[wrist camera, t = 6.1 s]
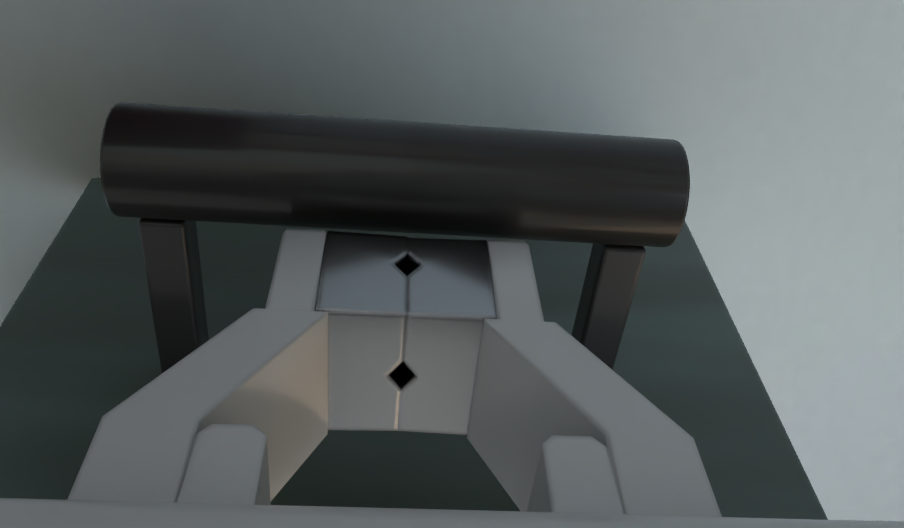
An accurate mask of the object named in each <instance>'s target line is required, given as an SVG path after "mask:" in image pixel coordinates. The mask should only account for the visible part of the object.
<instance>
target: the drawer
mask: <svg viewBox="0 0 904 528" xmlns="http://www.w3.org/2000/svg"><path fill="white" fill-rule="evenodd" d="M100 175H101V178H92V179H91V181H90V182H89V184H88V186H87V187H86V189H85V190H84V192H83V194H82V195H81V197H80V198H79V200H78V202H77V203H76V205H75V206H74V208H73V210H72V211H71V213H70V215H69V216H68V218H67V219H66V221H65V223H64V224H63V226H62V227H61V229H60V231H59V232H58V234H57V236H56V237H55V239H54V240H53V242H52V244H51V245H50V247H49V248H48V250H47V252H46V253H45V255H44V257H43V258H42V260H41V261H40V263H39V265H38V266H37V268H36V269H35V271H34V273H33V274H32V276H31V277H30V279H29V281H28V282H27V284H26V286H25V287H24V289H23V290H22V292H21V294H20V295H19V297H18V298H17V300H16V302H15V303H14V305H13V307H12V308H11V310H10V311H9V313H8V315H7V316H6V318H5V319H4V321H3V323H2V324H1V326H0V498H23V499H60V500H67V499H68V497H69V494H70V492H71V490H72V487H73V485H74V482H75V480H76V478H77V475H78V473H79V471H80V468H81V466H82V463H83V461H84V459H85V456H86V454H87V452H88V449H89V447H90V444H91V442H92V440H93V437H94V435H95V433H96V430H97V428H98V425H99V423H100V421H101V418H102V416H103V415H105V414H106V413H108V412H109V411H110V410H112V409H113V408H115V407H116V406H117V405H119V404H120V403H122V402H123V401H124V400H126V399H127V398H129V397H130V396H131V395H133V394H134V393H136V392H137V391H138V390H140V389H141V388H143V387H144V386H145V385H147V384H148V383H150V382H151V381H152V380H154V379H155V378H156V377H158V376H159V375H161V374H162V373H163V372H165V371H166V370H168V369H169V368H170V367H172V366H173V365H175V364H176V363H177V362H179V361H180V360H182V359H183V358H184V357H186V356H187V355H189V354H190V353H191V352H193V351H194V350H196V349H197V348H198V347H200V346H201V345H203V344H204V343H205V342H207V341H208V340H210V339H211V338H212V337H214V336H215V335H217V334H218V333H219V332H221V331H222V330H224V329H225V328H226V327H228V326H229V325H230V324H232V323H233V322H235V321H236V320H237V319H239V318H240V317H242V316H243V315H244V314H246V313H247V312H249V311H250V310H251V309H253V308H260V309H265V307H266V303H267V299H268V294H269V290H270V286H271V281H272V277H273V273H274V268H275V264H276V260H277V256H278V251H279V247H280V243H281V238H282V234H283V233H284V231H285V230H286V229H287V228H290V229H311V230H325V231H326V232H327V233H328V231H340V232H353V233H367V234H380V235H394V236H407V237H408V238H432V239H460V240H522V241H525V242H526V243H527V244H528V245H529V250H530V254H531V259H532V264H533V269H534V274H535V279H536V284H537V289H538V294H539V298H540V303H541V308H542V313H543V318H544V322H556V323H557V324H558V325H560V326H561V327H562V328H563V329H564V330H566V331H567V332H568V333H569V334H570V335H571V336H573V337H574V338H575V339H576V340H577V341H579V342H580V343H581V344H582V345H583V346H585V347H586V348H587V349H588V350H589V351H591V352H592V353H593V354H594V355H595V356H596V357H598V358H599V359H600V360H601V361H602V362H604V363H605V364H606V365H607V366H608V367H610V368H611V369H612V370H613V371H614V372H616V373H617V374H618V375H619V376H620V377H621V378H623V379H624V380H625V381H626V382H627V383H629V384H630V385H631V386H632V387H633V388H635V389H636V390H637V391H638V392H639V393H641V394H642V395H643V396H644V397H645V398H647V399H648V400H649V401H650V402H651V403H652V404H654V405H655V406H656V407H657V408H658V409H660V410H661V411H662V412H663V413H664V414H666V415H667V416H668V417H669V418H670V419H672V420H673V421H674V422H675V423H676V424H677V425H679V426H680V427H681V428H682V429H683V430H685V431H686V432H687V433H688V434H689V435H691V436H692V437H693V438H694V441H695V443H696V446H697V449H698V452H699V454H700V457H701V460H702V463H703V466H704V468H705V471H706V474H707V477H708V479H709V482H710V485H711V488H712V491H713V493H714V496H715V499H716V502H717V504H718V507H719V510H720V513H721V515H722V517H740V518H776V519H812V520H828V519H827V517H826V515H825V513H824V510H823V508H822V506H821V504H820V502H819V500H818V498H817V496H816V494H815V492H814V490H813V487H812V485H811V483H810V481H809V479H808V477H807V475H806V473H805V471H804V469H803V467H802V464H801V462H800V460H799V458H798V456H797V454H796V452H795V450H794V448H793V446H792V444H791V441H790V439H789V437H788V435H787V433H786V431H785V429H784V427H783V425H782V423H781V421H780V418H779V416H778V414H777V412H776V410H775V408H774V406H773V404H772V402H771V400H770V398H769V395H768V393H767V391H766V389H765V387H764V385H763V383H762V381H761V379H760V377H759V375H758V372H757V370H756V368H755V366H754V364H753V362H752V360H751V358H750V356H749V354H748V352H747V349H746V347H745V345H744V343H743V341H742V339H741V337H740V335H739V333H738V331H737V329H736V326H735V324H734V322H733V320H732V318H731V316H730V314H729V312H728V310H727V308H726V306H725V303H724V301H723V299H722V297H721V295H720V293H719V291H718V289H717V287H716V285H715V283H714V280H713V278H712V276H711V274H710V272H709V270H708V268H707V266H706V264H705V262H704V260H703V257H702V255H701V253H700V251H699V249H698V247H697V245H696V243H695V241H694V239H693V237H692V234H691V232H690V230H689V228H688V226H687V224H686V222H685V217H686V212H687V207H688V201H689V190H690V175H689V165H688V159H687V155H686V152H685V150H684V147H683V146H682V144H681V143H680V142H678V141H676V140H671V139H656V138H642V137H627V136H612V135H597V134H583V133H568V132H553V131H538V130H524V129H509V128H494V127H479V126H465V125H450V124H435V123H420V122H406V121H391V120H376V119H361V118H347V117H332V116H317V115H302V114H288V113H273V112H258V111H243V110H229V109H214V108H199V107H184V106H170V105H155V104H140V103H125V102H121V103H118V104H115V105H114V106H113V107H112V108H111V110H110V112H109V114H108V116H107V118H106V122H105V125H104V129H103V134H102V140H101V149H100ZM271 505H288V506H327V507H367V508H407V509H446V510H486V511H520V510H519V508H518V507H517V506H516V504H515V503H514V501H513V500H512V499H511V497H510V496H509V495H508V493H507V492H506V491H505V489H504V488H503V486H502V485H501V484H500V482H499V481H498V480H497V478H496V477H495V476H494V474H493V473H492V472H491V470H490V469H489V467H488V466H487V465H486V463H485V462H484V461H483V459H482V458H481V457H480V455H479V454H478V452H477V451H476V450H475V448H474V447H473V446H472V444H471V443H470V442H469V440H468V439H467V435H460V434H443V433H426V432H410V431H370V430H328V434H327V435H326V437H325V438H324V439H323V440H322V441H321V442H320V444H319V445H318V446H317V447H316V448H315V450H314V451H313V452H312V453H311V454H310V456H309V457H308V458H307V459H306V460H305V461H304V463H303V464H302V465H301V466H300V467H299V469H298V470H297V471H296V472H295V473H294V475H293V476H292V477H291V478H290V479H289V480H288V482H287V483H286V484H285V485H284V486H283V488H282V489H281V490H280V491H279V492H278V494H277V495H276V496H275V497H274V498H273V499H272V501H271Z"/></svg>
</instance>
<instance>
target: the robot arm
mask: <svg viewBox="0 0 904 528" xmlns="http://www.w3.org/2000/svg"><path fill="white" fill-rule="evenodd" d="M328 430H370V431H410V432H426V433H443V434H460V435H467V439H468V440H469V442H470V443H471V444H472V446H473V447H474V448H475V450H476V451H477V452H478V454H479V455H480V457H481V458H482V459H483V461H484V462H485V463H486V465H487V466H488V467H489V469H490V470H491V472H492V473H493V474H494V476H495V477H496V478H497V480H498V481H499V482H500V484H501V485H502V486H503V488H504V489H505V491H506V492H507V493H508V495H509V496H510V497H511V499H512V500H513V501H514V503H515V504H516V506H517V507H518V508H519V510H520V511H486V510H446V509H407V508H367V507H327V506H288V505H271V501H272V499H273V498H274V497H275V496H276V495H277V494H278V492H279V491H280V490H281V489H282V488H283V486H284V485H285V484H286V483H287V482H288V480H289V479H290V478H291V477H292V476H293V475H294V473H295V472H296V471H297V470H298V469H299V467H300V466H301V465H302V464H303V463H304V461H305V460H306V459H307V458H308V457H309V456H310V454H311V453H312V452H313V451H314V450H315V448H316V447H317V446H318V445H319V444H320V442H321V441H322V440H323V439H324V438H325V437H326V435H327V434H328ZM0 528H904V522H902V521H859V520H812V519H776V518H740V517H722V515H721V513H720V510H719V507H718V504H717V502H716V499H715V496H714V493H713V491H712V488H711V485H710V482H709V479H708V477H707V474H706V471H705V468H704V466H703V463H702V460H701V457H700V454H699V452H698V449H697V446H696V443H695V441H694V438H693V437H692V436H691V435H689V434H688V433H687V432H686V431H685V430H683V429H682V428H681V427H680V426H679V425H677V424H676V423H675V422H674V421H673V420H672V419H670V418H669V417H668V416H667V415H666V414H664V413H663V412H662V411H661V410H660V409H658V408H657V407H656V406H655V405H654V404H652V403H651V402H650V401H649V400H648V399H647V398H645V397H644V396H643V395H642V394H641V393H639V392H638V391H637V390H636V389H635V388H633V387H632V386H631V385H630V384H629V383H627V382H626V381H625V380H624V379H623V378H621V377H620V376H619V375H618V374H617V373H616V372H614V371H613V370H612V369H611V368H610V367H608V366H607V365H606V364H605V363H604V362H602V361H601V360H600V359H599V358H598V357H596V356H595V355H594V354H593V353H592V352H591V351H589V350H588V349H587V348H586V347H585V346H583V345H582V344H581V343H580V342H579V341H577V340H576V339H575V338H574V337H573V336H571V335H570V334H569V333H568V332H567V331H566V330H564V329H563V328H562V327H561V326H560V325H558V324H557V323H556V322H544V318H543V313H542V308H541V303H540V298H539V294H538V289H537V284H536V279H535V274H534V269H533V264H532V259H531V254H530V250H529V245H528V244H527V243H526V242H525V241H522V240H460V239H432V238H408V237H407V236H394V235H380V234H367V233H353V232H340V231H328V233H327V232H326V231H325V230H311V229H290V228H287V229H286V230H285V231H284V233H283V234H282V238H281V243H280V247H279V251H278V256H277V260H276V264H275V268H274V273H273V277H272V281H271V286H270V290H269V294H268V299H267V303H266V307H265V309H260V308H253V309H251V310H250V311H249V312H247V313H246V314H244V315H243V316H242V317H240V318H239V319H237V320H236V321H235V322H233V323H232V324H230V325H229V326H228V327H226V328H225V329H224V330H222V331H221V332H219V333H218V334H217V335H215V336H214V337H212V338H211V339H210V340H208V341H207V342H205V343H204V344H203V345H201V346H200V347H198V348H197V349H196V350H194V351H193V352H191V353H190V354H189V355H187V356H186V357H184V358H183V359H182V360H180V361H179V362H177V363H176V364H175V365H173V366H172V367H170V368H169V369H168V370H166V371H165V372H163V373H162V374H161V375H159V376H158V377H156V378H155V379H154V380H152V381H151V382H150V383H148V384H147V385H145V386H144V387H143V388H141V389H140V390H138V391H137V392H136V393H134V394H133V395H131V396H130V397H129V398H127V399H126V400H124V401H123V402H122V403H120V404H119V405H117V406H116V407H115V408H113V409H112V410H110V411H109V412H108V413H106V414H105V415H103V416H102V418H101V421H100V423H99V425H98V428H97V430H96V433H95V435H94V437H93V440H92V442H91V444H90V447H89V449H88V452H87V454H86V456H85V459H84V461H83V463H82V466H81V468H80V471H79V473H78V475H77V478H76V480H75V482H74V485H73V487H72V490H71V492H70V494H69V497H68V499H67V500H60V499H23V498H0Z"/></svg>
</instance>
